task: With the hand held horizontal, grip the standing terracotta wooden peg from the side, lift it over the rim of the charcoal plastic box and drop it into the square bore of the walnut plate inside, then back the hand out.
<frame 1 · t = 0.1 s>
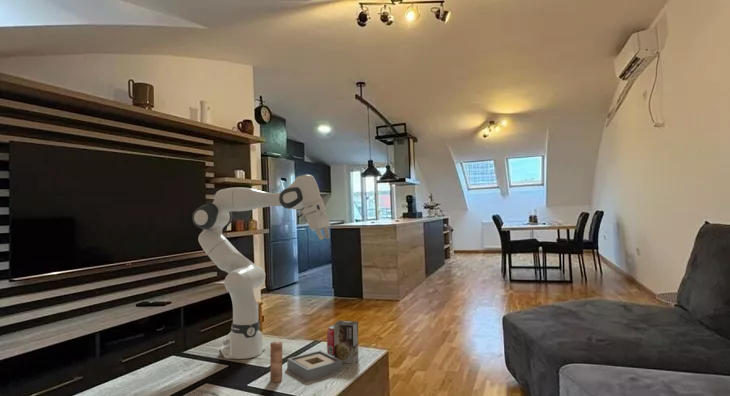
hand: (324, 238, 179), 52 cm above the table, tool tilted 20°, fingers open, 8 cm apart
peg: (276, 380, 154), on the table
peg box: (314, 369, 164), on the table
coffee box: (346, 361, 174), on the table
soda can: (334, 354, 183), on the table
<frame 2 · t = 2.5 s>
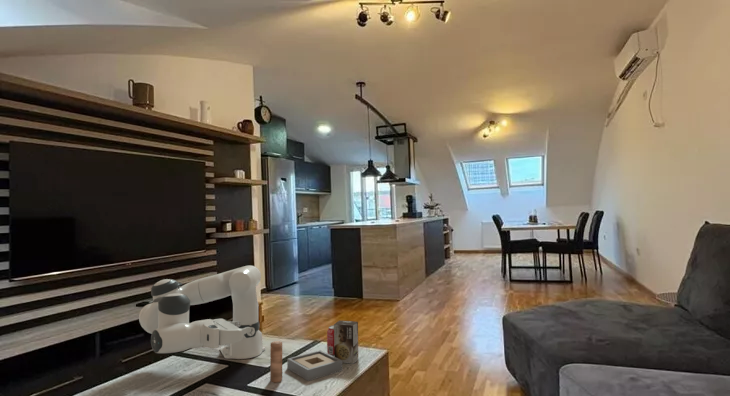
hand: (244, 326, 147), 22 cm above the table, tool horizontal, fingers open, 8 cm apart
nothing on the table moved.
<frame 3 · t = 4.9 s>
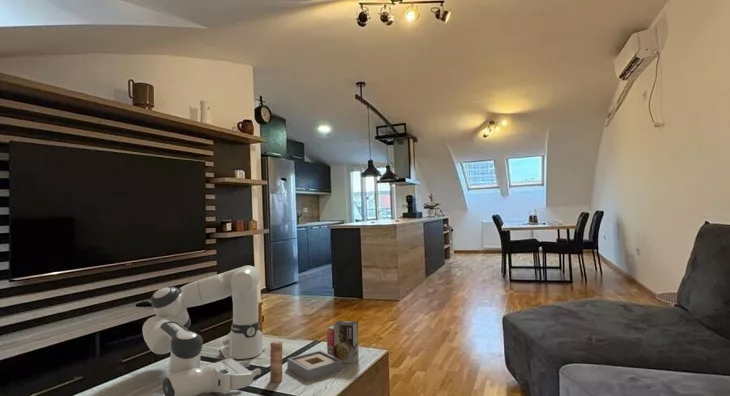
hand: (254, 366, 148), 7 cm above the table, tool horizontal, fingers open, 8 cm apart
nothing on the table moved.
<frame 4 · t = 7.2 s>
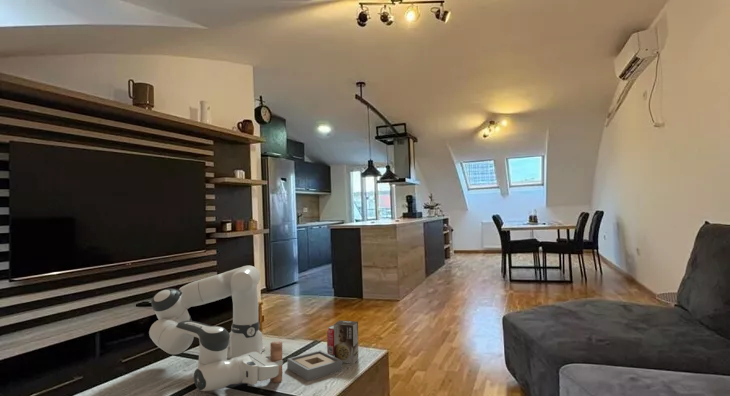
hand: (278, 359, 154), 8 cm above the table, tool horizontal, fingers closed on peg, 4 cm apart
peg: (276, 380, 153), on the table, touching gripper
everything else where it was.
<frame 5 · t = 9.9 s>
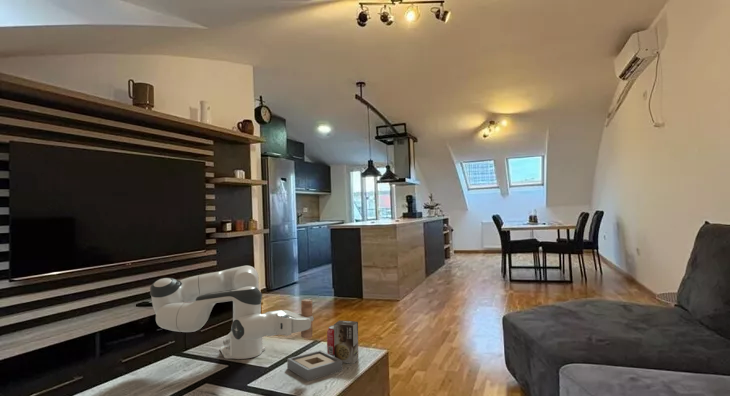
hand: (308, 316, 162), 22 cm above the table, tool horizontal, fingers closed on peg, 4 cm apart
peg: (306, 336, 161), point 14 cm above the table, touching gripper
everything else where it was.
when the fingers open (12 cm above the table, at t = 12.5 s): peg drops 3 cm, resting on peg box.
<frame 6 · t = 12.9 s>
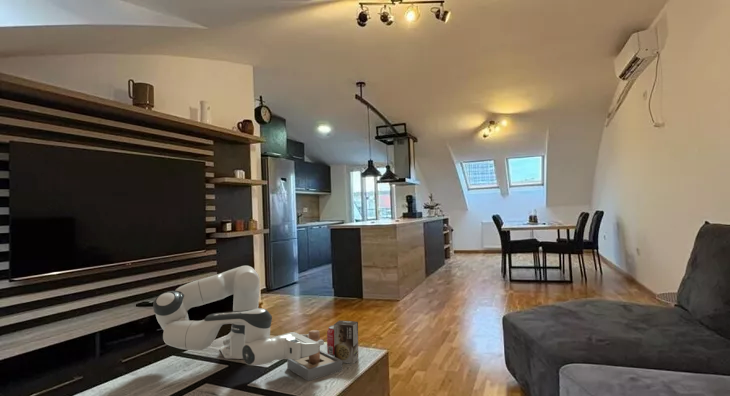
hand: (316, 339, 165), 12 cm above the table, tool horizontal, fingers open, 8 cm apart
peg: (314, 366, 164), point 1 cm above the table, touching peg box
everything else where it was.
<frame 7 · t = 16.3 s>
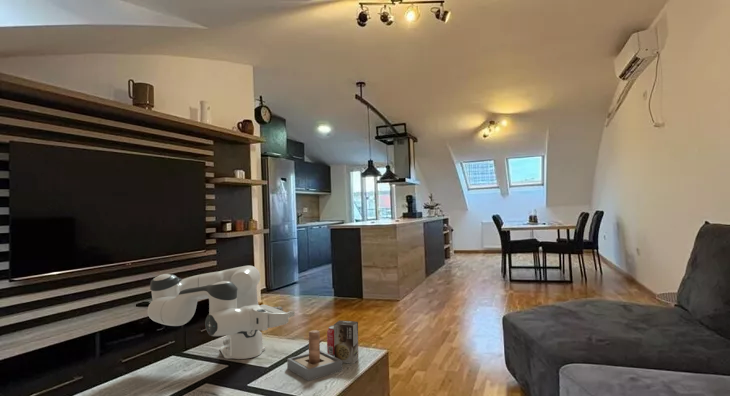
hand: (287, 311, 157), 25 cm above the table, tool horizontal, fingers open, 8 cm apart
nothing on the table moved.
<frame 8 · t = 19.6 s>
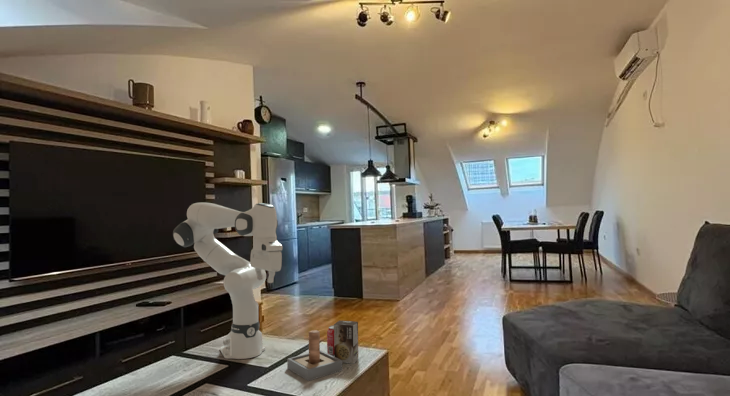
hand: (264, 281, 156), 37 cm above the table, tool pointing down, fingers open, 8 cm apart
nothing on the table moved.
at the end: peg 0.1 cm off-centre on the peg box, point 1.0 cm above the peg box's base; peg tilted 1°; the gripper is holding nothing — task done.
